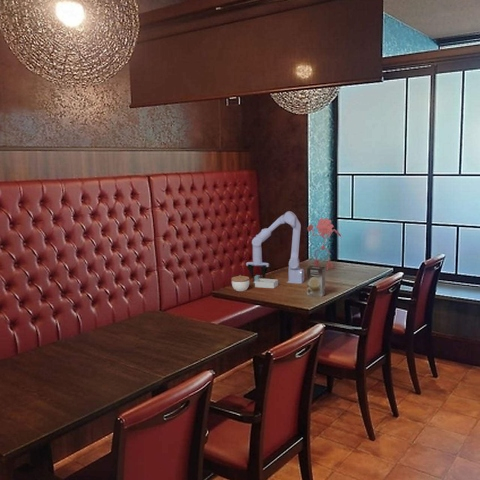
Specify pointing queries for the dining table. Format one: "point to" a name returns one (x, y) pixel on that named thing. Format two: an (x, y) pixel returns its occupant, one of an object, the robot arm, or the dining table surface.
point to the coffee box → (316, 281)
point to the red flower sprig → (323, 228)
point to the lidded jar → (240, 283)
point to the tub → (266, 283)
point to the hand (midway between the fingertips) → (258, 277)
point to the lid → (256, 277)
